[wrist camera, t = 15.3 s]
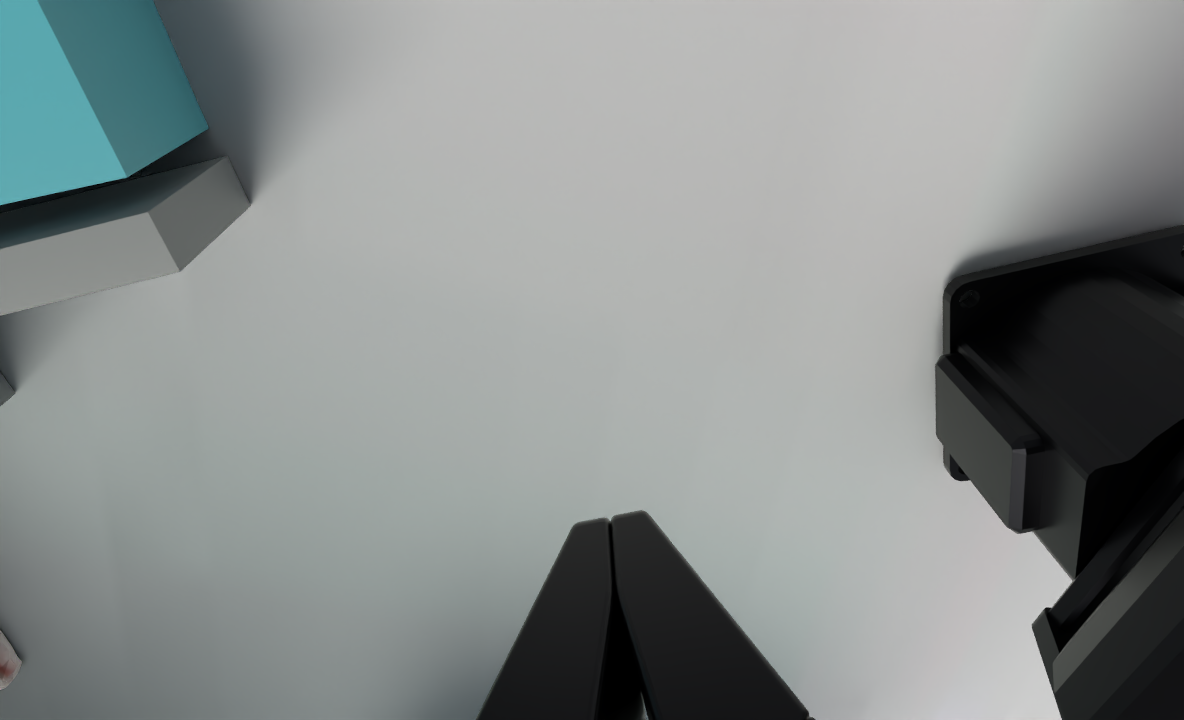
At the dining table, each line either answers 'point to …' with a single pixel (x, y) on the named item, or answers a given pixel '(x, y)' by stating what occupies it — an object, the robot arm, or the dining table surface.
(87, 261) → the socket
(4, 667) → the towel
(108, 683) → the dining table surface
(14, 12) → the plug
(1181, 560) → the robot arm
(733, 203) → the dining table surface
